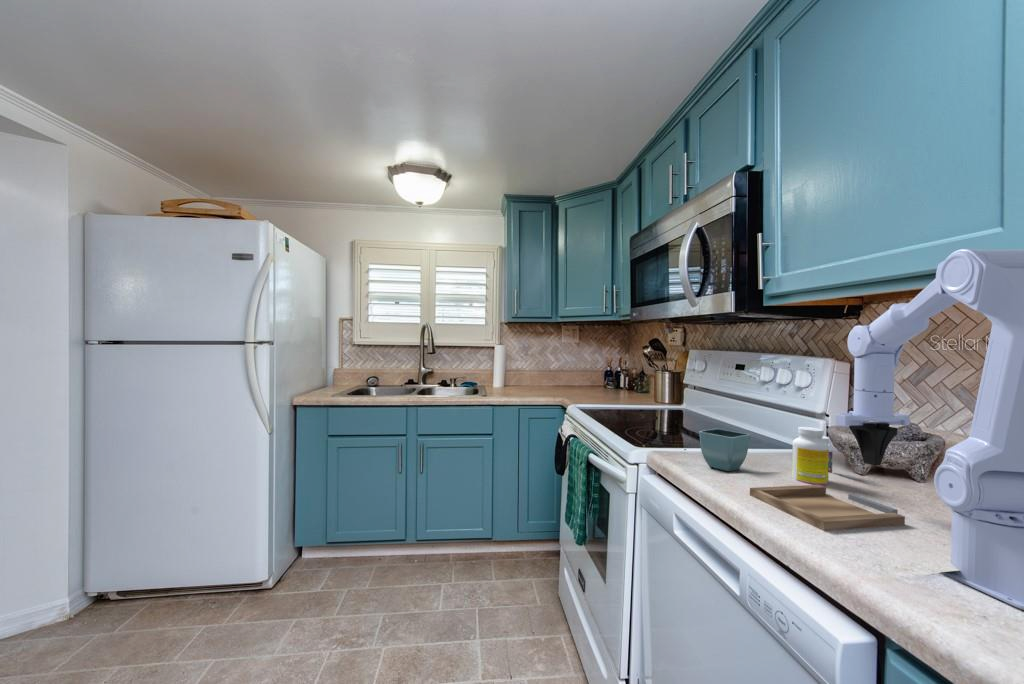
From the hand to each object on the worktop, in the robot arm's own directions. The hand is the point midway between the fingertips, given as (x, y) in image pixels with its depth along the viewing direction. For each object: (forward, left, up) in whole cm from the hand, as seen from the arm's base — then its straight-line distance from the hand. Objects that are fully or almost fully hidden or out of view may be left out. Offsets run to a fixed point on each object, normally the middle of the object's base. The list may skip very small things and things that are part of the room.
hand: (871, 464), depth 80 cm
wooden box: (0, +11, -9) cm, 14 cm away
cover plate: (0, -3, -10) cm, 10 cm away
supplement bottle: (+15, -2, -10) cm, 18 cm away
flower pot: (+30, +8, -10) cm, 32 cm away
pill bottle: (+24, -14, -10) cm, 29 cm away
